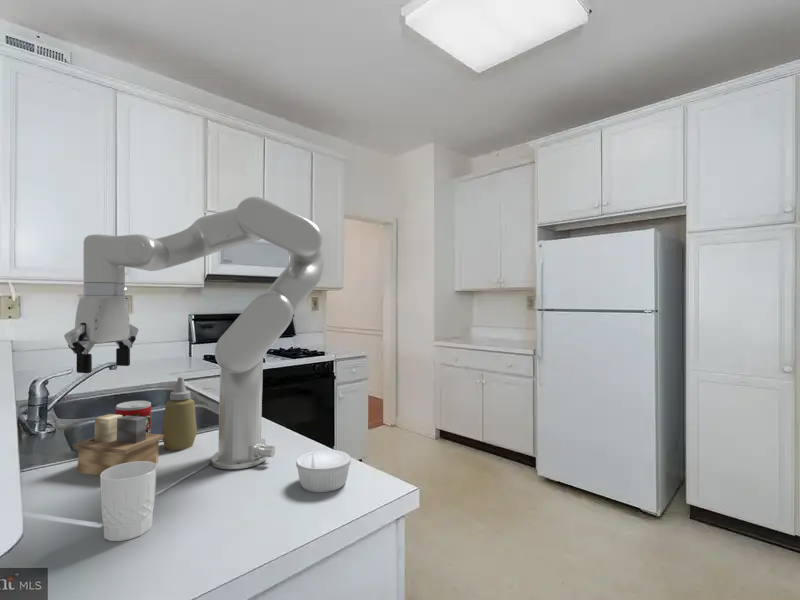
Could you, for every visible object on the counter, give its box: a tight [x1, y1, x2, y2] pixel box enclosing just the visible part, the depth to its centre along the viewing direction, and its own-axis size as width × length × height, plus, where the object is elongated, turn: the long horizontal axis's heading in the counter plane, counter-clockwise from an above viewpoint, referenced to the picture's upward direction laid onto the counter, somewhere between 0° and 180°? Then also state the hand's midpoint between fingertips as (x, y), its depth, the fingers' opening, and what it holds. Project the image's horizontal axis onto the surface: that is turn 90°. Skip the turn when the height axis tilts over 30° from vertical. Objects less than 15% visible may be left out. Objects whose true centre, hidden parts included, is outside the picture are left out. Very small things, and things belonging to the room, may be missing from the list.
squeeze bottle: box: [161, 376, 198, 452], centre depth 109 cm, size 8×8×18 cm
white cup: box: [99, 461, 158, 542], centre depth 70 cm, size 8×8×10 cm
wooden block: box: [94, 413, 123, 443], centre depth 95 cm, size 4×4×11 cm
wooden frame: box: [72, 415, 164, 454], centre depth 94 cm, size 13×10×6 cm
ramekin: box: [295, 449, 352, 493], centre depth 90 cm, size 11×11×5 cm
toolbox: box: [77, 440, 160, 476], centre depth 94 cm, size 12×9×6 cm
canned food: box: [114, 400, 152, 434], centre depth 109 cm, size 8×8×11 cm
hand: (104, 369), depth 94 cm, fingers open, 9 cm apart
